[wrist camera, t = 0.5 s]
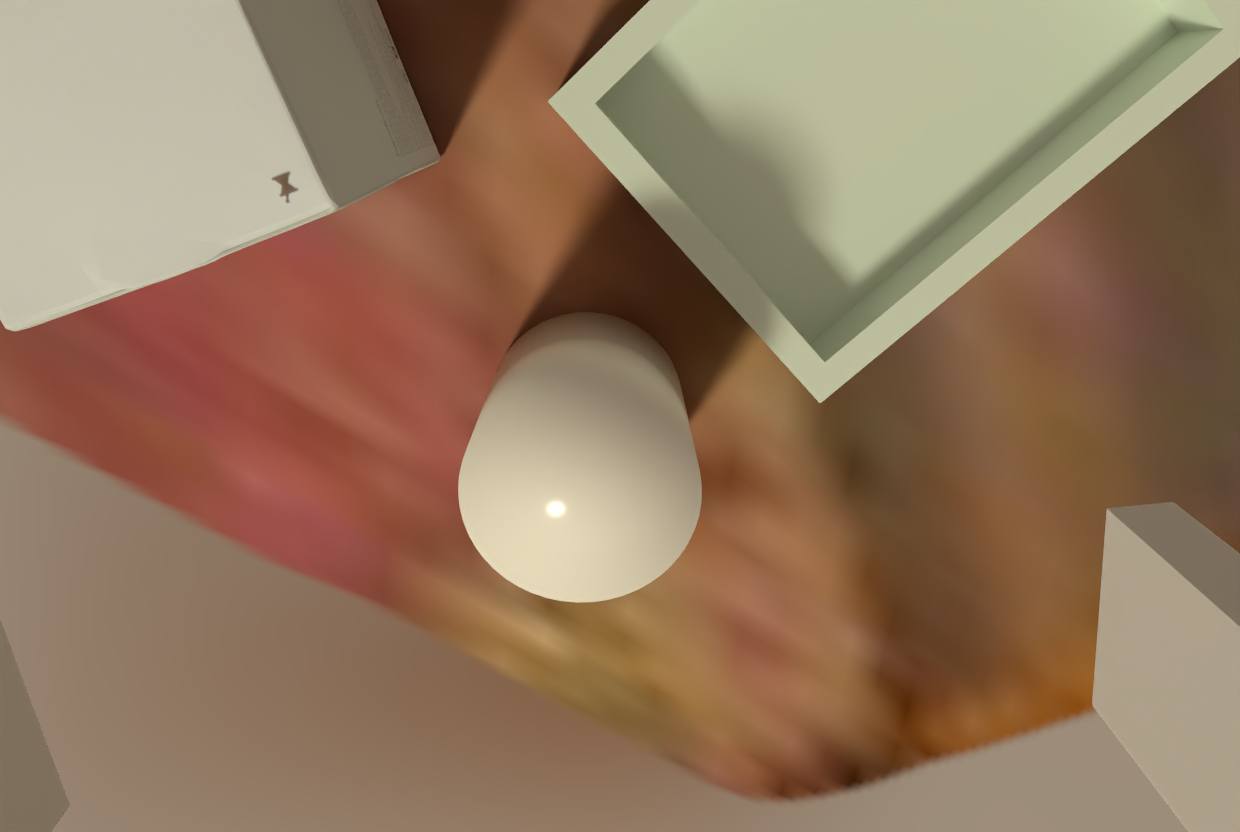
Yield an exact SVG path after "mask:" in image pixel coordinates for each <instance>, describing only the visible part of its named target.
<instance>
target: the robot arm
mask: <svg viewBox="0 0 1240 832" xmlns="http://www.w3.org/2000/svg"><path fill="white" fill-rule="evenodd" d="M1092 706H1093V707H1094V708H1095V710H1096V711H1097V712H1098V714H1099V715H1100V716H1101V717H1102V719H1103V720H1104V721H1105V723H1106V724H1107V725H1108V727H1109V728H1110V729H1111V731H1112V732H1113V733H1114V735H1115V736H1116V737H1117V739H1118V740H1119V741H1120V742H1121V744H1122V745H1123V746H1124V748H1125V749H1126V750H1127V752H1128V753H1129V754H1130V756H1131V757H1132V758H1133V760H1134V761H1135V762H1136V764H1137V765H1138V766H1139V767H1140V769H1141V770H1142V771H1143V772H1144V774H1145V775H1146V776H1147V778H1148V779H1149V781H1150V782H1151V783H1152V785H1153V786H1154V787H1155V789H1156V790H1157V791H1158V792H1159V794H1160V795H1161V796H1162V798H1163V799H1164V800H1165V802H1166V803H1167V804H1168V806H1169V807H1170V808H1171V810H1172V811H1173V812H1174V814H1175V815H1176V816H1177V817H1178V819H1179V820H1180V821H1181V823H1182V824H1183V825H1184V827H1185V828H1186V829H1187V831H1188V832H1240V554H1239V553H1238V552H1237V551H1236V550H1234V549H1233V548H1232V547H1230V546H1229V545H1228V544H1227V543H1225V542H1224V541H1223V540H1221V539H1220V538H1219V537H1218V536H1216V535H1215V534H1214V533H1212V532H1211V531H1210V530H1208V529H1207V528H1206V527H1205V526H1203V525H1202V524H1201V523H1199V522H1198V521H1197V520H1196V519H1194V518H1193V517H1192V516H1190V515H1189V514H1188V513H1187V512H1185V511H1184V510H1183V509H1181V508H1180V507H1179V506H1178V505H1176V504H1175V503H1174V502H1167V503H1157V504H1147V505H1138V506H1128V507H1118V508H1108V509H1107V514H1106V528H1105V541H1104V554H1103V568H1102V581H1101V594H1100V607H1099V621H1098V634H1097V647H1096V661H1095V674H1094V687H1093V700H1092ZM69 805H70V804H69V802H68V799H67V796H66V794H65V791H64V788H63V786H62V783H61V781H60V778H59V775H58V773H57V770H56V767H55V764H54V762H53V759H52V756H51V754H50V751H49V748H48V745H47V743H46V740H45V738H44V735H43V732H42V730H41V727H40V724H39V722H38V719H37V716H36V713H35V711H34V708H33V706H32V703H31V700H30V697H29V695H28V692H27V689H26V687H25V684H24V681H23V679H22V676H21V673H20V671H19V668H18V665H17V663H16V660H15V657H14V655H13V652H12V649H11V646H10V644H9V641H8V639H7V636H6V633H5V630H4V628H3V625H2V622H1V621H0V832H51V831H52V830H53V828H54V827H55V825H56V824H57V822H58V821H59V820H60V818H61V817H62V816H63V814H64V813H65V811H66V810H67V808H68V807H69Z"/></svg>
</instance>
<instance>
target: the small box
mask: <svg viewBox="0 0 1240 832" xmlns="http://www.w3.org/2000/svg"><path fill="white" fill-rule="evenodd" d="M439 161H440V155H439V152H438V150H437V147H436V145H435V143H434V141H433V138H432V135H431V133H430V131H429V128H428V126H427V123H426V121H425V119H424V116H423V114H422V111H421V108H420V106H419V104H418V101H417V99H416V97H415V94H414V92H413V89H412V87H411V84H410V82H409V80H408V77H407V75H406V72H405V70H404V67H403V65H402V62H401V60H400V57H399V55H398V52H397V50H396V47H395V45H394V42H393V40H392V37H391V35H390V32H389V30H388V27H387V25H386V22H385V20H384V17H383V15H382V12H381V10H380V7H379V5H378V2H377V0H0V320H1V322H2V323H3V325H4V327H5V328H6V329H8V330H12V331H19V330H23V329H27V328H30V327H33V326H36V325H39V324H42V323H44V322H47V321H50V320H53V319H56V318H58V317H61V316H64V315H67V314H70V313H72V312H75V311H78V310H81V309H84V308H86V307H89V306H92V305H95V304H98V303H100V302H103V301H106V300H109V299H111V298H114V297H117V296H120V295H123V294H125V293H128V292H131V291H134V290H137V289H139V288H142V287H145V286H148V285H151V284H154V283H156V282H159V281H162V280H165V279H168V278H171V277H174V276H177V275H179V274H182V273H185V272H187V271H190V270H192V269H195V268H198V267H201V266H204V265H207V264H209V263H211V262H213V261H216V260H217V259H219V258H221V257H223V256H226V255H228V254H230V253H233V252H235V251H238V250H240V249H243V248H245V247H248V246H250V245H253V244H255V243H258V242H260V241H263V240H265V239H268V238H270V237H273V236H276V235H278V234H281V233H283V232H286V231H288V230H291V229H293V228H296V227H299V226H301V225H303V224H306V223H308V222H311V221H313V220H316V219H318V218H321V217H323V216H326V215H328V214H331V213H333V212H335V211H338V210H340V209H342V208H344V207H346V206H348V205H350V204H352V203H354V202H356V201H358V200H360V199H362V198H365V197H367V196H369V195H371V194H373V193H375V192H377V191H379V190H381V189H382V188H384V187H386V186H388V185H390V184H392V183H394V182H396V181H397V180H399V179H401V178H403V177H405V176H408V175H410V174H412V173H415V172H417V171H419V170H421V169H424V168H426V167H428V166H430V165H433V164H435V163H437V162H439Z"/></svg>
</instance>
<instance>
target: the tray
mask: <svg viewBox="0 0 1240 832" xmlns="http://www.w3.org/2000/svg"><path fill="white" fill-rule="evenodd" d="M1239 57H1240V0H650V1H649V2H648V3H647V4H646V5H645V6H644V7H643V8H642V9H641V10H640V11H638V12H637V13H636V14H635V15H634V16H633V17H632V18H631V19H630V20H629V21H628V22H627V23H626V24H625V25H624V26H623V27H622V28H621V29H620V30H619V31H618V32H617V33H616V34H615V35H614V36H613V37H612V38H611V39H610V40H609V41H608V42H607V43H606V44H605V45H604V46H603V47H602V48H601V49H600V50H599V51H598V52H597V53H596V54H595V55H594V56H593V57H592V58H591V59H590V60H589V61H588V62H587V63H586V64H585V65H584V66H583V67H582V68H581V69H580V70H579V71H578V72H577V73H576V74H575V75H574V76H573V77H572V78H571V79H570V80H569V81H568V82H567V83H566V84H565V85H564V86H563V87H562V88H561V89H560V90H559V91H558V92H557V93H556V94H555V95H554V96H553V97H552V98H551V99H550V100H549V101H548V102H549V104H550V105H551V106H552V107H553V108H554V109H555V110H556V111H557V112H558V114H559V115H560V116H561V117H562V118H563V119H564V120H565V121H566V122H567V124H568V125H569V126H570V127H571V128H572V129H573V130H574V131H575V132H576V133H577V135H578V136H579V137H580V138H581V139H582V140H583V141H584V142H585V143H586V145H587V146H588V147H589V148H590V149H591V150H592V151H593V152H594V153H595V155H596V156H597V157H598V158H599V159H600V160H601V161H602V162H603V163H604V165H605V166H606V167H607V168H608V169H609V170H610V171H611V172H612V173H613V174H614V176H615V177H616V178H617V179H618V180H619V181H620V182H621V183H622V184H623V186H624V187H625V188H626V189H627V190H628V191H629V192H630V193H631V194H632V196H633V197H634V198H635V199H636V200H637V201H638V202H639V203H640V204H641V206H642V207H643V208H644V209H645V210H646V211H647V212H648V213H649V214H650V216H651V217H652V218H653V219H654V220H655V221H656V222H657V223H658V224H659V225H660V227H661V228H662V229H663V230H664V231H665V232H666V233H667V234H668V235H669V237H670V238H671V239H672V240H673V241H674V242H675V243H676V244H677V245H678V247H679V248H680V249H681V250H682V251H683V252H684V253H685V254H686V255H687V257H688V258H689V259H690V260H691V261H692V262H693V263H694V264H695V265H696V267H697V268H698V269H699V270H700V271H701V272H702V273H703V274H704V275H705V276H706V278H707V279H708V280H709V281H710V282H711V283H712V284H713V285H714V286H715V288H716V289H717V290H718V291H719V292H720V293H721V294H722V295H723V296H724V298H725V299H726V300H727V301H728V302H729V303H730V304H731V305H732V306H733V308H734V309H735V310H736V311H737V312H738V313H739V314H740V315H741V316H742V317H743V319H744V320H745V321H746V322H747V323H748V324H749V325H750V326H751V327H752V329H753V330H754V331H755V332H756V333H757V334H758V335H759V336H760V337H761V339H762V340H763V341H764V342H765V343H766V344H767V345H768V346H769V347H770V349H771V350H772V351H773V352H774V353H775V354H776V355H777V356H778V357H779V359H780V360H781V361H782V362H783V363H784V364H785V365H786V366H787V367H788V368H789V370H790V371H791V372H792V373H793V374H794V375H795V376H796V377H797V378H798V380H799V381H800V382H801V383H802V384H803V385H804V386H805V387H806V388H807V390H808V391H809V392H810V393H811V394H812V395H813V396H814V397H815V398H816V400H817V401H818V402H819V403H821V402H822V401H824V400H825V399H826V398H827V397H828V396H830V395H831V394H832V393H833V392H835V391H836V390H837V389H838V388H839V387H841V386H842V385H843V384H844V383H845V382H847V381H848V380H849V379H850V378H852V377H853V376H854V375H855V374H856V373H858V372H859V371H860V370H861V369H862V368H864V367H865V366H866V365H867V364H868V363H870V362H871V361H872V360H873V359H875V358H876V357H877V356H878V355H879V354H881V353H882V352H883V351H884V350H885V349H887V348H888V347H889V346H890V345H891V344H893V343H894V342H895V341H896V340H898V339H899V338H900V337H901V336H902V335H904V334H905V333H906V332H907V331H908V330H910V329H911V328H912V327H913V326H914V325H916V324H917V323H918V322H919V321H921V320H922V319H923V318H924V317H925V316H927V315H928V314H929V313H930V312H931V311H933V310H934V309H935V308H936V307H938V306H939V305H940V304H941V303H942V302H944V301H945V300H946V299H947V298H948V297H950V296H951V295H952V294H953V293H954V292H956V291H957V290H958V289H959V288H961V287H962V286H963V285H964V284H965V283H967V282H968V281H969V280H970V279H971V278H973V277H974V276H975V275H976V274H977V273H979V272H980V271H981V270H982V269H984V268H985V267H986V266H987V265H988V264H990V263H991V262H992V261H993V260H994V259H996V258H997V257H998V256H999V255H1000V254H1002V253H1003V252H1004V251H1005V250H1007V249H1008V248H1009V247H1010V246H1011V245H1013V244H1014V243H1015V242H1016V241H1017V240H1019V239H1020V238H1021V237H1022V236H1023V235H1025V234H1026V233H1027V232H1028V231H1030V230H1031V229H1032V228H1033V227H1034V226H1036V225H1037V224H1038V223H1039V222H1040V221H1042V220H1043V219H1044V218H1045V217H1047V216H1048V215H1049V214H1050V213H1051V212H1053V211H1054V210H1055V209H1056V208H1057V207H1059V206H1060V205H1061V204H1062V203H1063V202H1065V201H1066V200H1067V199H1068V198H1070V197H1071V196H1072V195H1073V194H1074V193H1076V192H1077V191H1078V190H1079V189H1080V188H1082V187H1083V186H1084V185H1085V184H1086V183H1088V182H1089V181H1090V180H1091V179H1093V178H1094V177H1095V176H1096V175H1097V174H1099V173H1100V172H1101V171H1102V170H1103V169H1105V168H1106V167H1107V166H1108V165H1109V164H1111V163H1112V162H1113V161H1114V160H1116V159H1117V158H1118V157H1119V156H1120V155H1122V154H1123V153H1124V152H1125V151H1126V150H1128V149H1129V148H1130V147H1131V146H1133V145H1134V144H1135V143H1136V142H1137V141H1139V140H1140V139H1141V138H1142V137H1143V136H1145V135H1146V134H1147V133H1148V132H1149V131H1151V130H1152V129H1153V128H1154V127H1156V126H1157V125H1158V124H1159V123H1160V122H1162V121H1163V120H1164V119H1165V118H1166V117H1168V116H1169V115H1170V114H1171V113H1172V112H1174V111H1175V110H1176V109H1177V108H1179V107H1180V106H1181V105H1182V104H1183V103H1185V102H1186V101H1187V100H1188V99H1189V98H1191V97H1192V96H1193V95H1194V94H1195V93H1197V92H1198V91H1199V90H1200V89H1202V88H1203V87H1204V86H1205V85H1206V84H1208V83H1209V82H1210V81H1211V80H1212V79H1214V78H1215V77H1216V76H1217V75H1219V74H1220V73H1221V72H1222V71H1223V70H1225V69H1226V68H1227V67H1228V66H1229V65H1231V64H1232V63H1233V62H1234V61H1235V60H1237V59H1238V58H1239Z"/></svg>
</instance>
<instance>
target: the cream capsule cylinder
mask: <svg viewBox="0 0 1240 832" xmlns="http://www.w3.org/2000/svg"><path fill="white" fill-rule="evenodd" d="M458 494H459V506H460V510H461V514H462V519H463V522H464V524H465V527H466V530H467V532H468V534H469V536H470V538H471V540H472V542H473V544H474V545H475V547H476V548H477V550H478V551H479V552H480V554H481V555H482V557H483V558H484V559H485V560H486V561H487V562H488V563H489V564H490V565H491V566H492V567H493V568H494V569H495V570H496V571H497V572H498V573H499V574H501V575H502V576H503V577H504V578H506V579H507V580H509V581H510V582H512V583H514V584H515V585H517V586H518V587H520V588H523V589H525V590H527V591H529V592H531V593H534V594H537V595H540V596H543V597H546V598H550V599H555V600H559V601H567V602H596V601H603V600H609V599H612V598H616V597H620V596H623V595H626V594H628V593H631V592H633V591H636V590H638V589H640V588H642V587H643V586H645V585H647V584H649V583H650V582H652V581H653V580H655V579H656V578H657V577H659V576H660V575H662V574H663V573H664V572H665V571H666V570H667V569H668V568H669V567H670V566H671V565H672V564H673V563H674V562H675V561H676V560H677V558H678V557H679V556H680V555H681V554H682V552H683V550H684V549H685V547H686V546H687V544H688V542H689V541H690V539H691V536H692V534H693V532H694V530H695V527H696V524H697V521H698V517H699V514H700V507H701V500H702V484H701V477H700V470H699V465H698V461H697V456H696V452H695V447H694V443H693V438H692V434H691V429H690V425H689V420H688V415H687V411H686V406H685V402H684V397H683V393H682V388H681V384H680V381H679V377H678V374H677V371H676V369H675V367H674V365H673V363H672V361H671V359H670V358H669V356H668V354H667V353H666V351H665V350H664V349H663V348H662V347H661V345H660V344H659V343H658V342H657V341H656V340H655V339H654V338H653V337H652V336H651V335H650V334H648V333H647V332H645V331H644V330H643V329H641V328H640V327H638V326H636V325H635V324H633V323H631V322H629V321H627V320H624V319H621V318H619V317H616V316H612V315H608V314H604V313H595V312H575V313H569V314H563V315H560V316H556V317H553V318H550V319H548V320H546V321H543V322H541V323H539V324H538V325H536V326H534V327H533V328H531V329H529V330H528V331H527V332H526V333H524V334H523V335H522V336H521V337H519V338H518V340H517V341H516V342H515V343H514V344H513V345H512V346H511V347H510V348H509V350H508V351H507V353H506V354H505V355H504V357H503V359H502V361H501V363H500V365H499V366H498V369H497V371H496V374H495V377H494V379H493V382H492V384H491V387H490V390H489V392H488V395H487V397H486V400H485V403H484V405H483V408H482V410H481V413H480V416H479V418H478V421H477V423H476V426H475V429H474V431H473V434H472V436H471V439H470V442H469V444H468V447H467V450H466V452H465V455H464V458H463V461H462V465H461V470H460V474H459V487H458Z"/></svg>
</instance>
